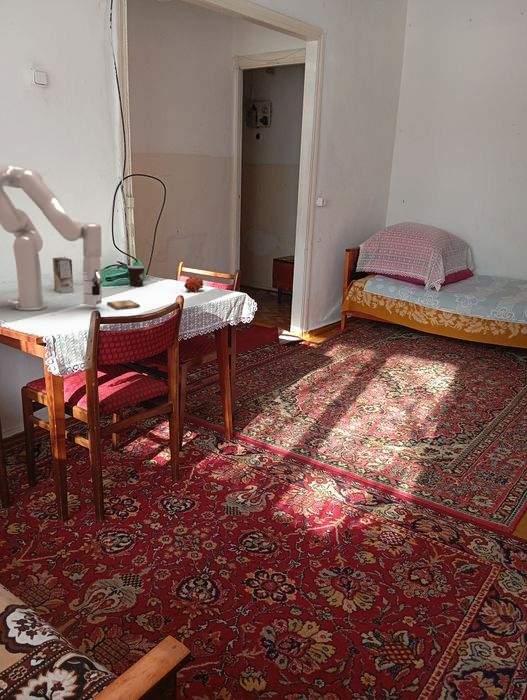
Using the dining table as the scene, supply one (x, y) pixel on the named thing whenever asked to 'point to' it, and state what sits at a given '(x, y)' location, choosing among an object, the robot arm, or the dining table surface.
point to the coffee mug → (135, 275)
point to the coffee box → (63, 274)
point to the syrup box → (90, 292)
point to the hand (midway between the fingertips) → (92, 292)
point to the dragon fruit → (193, 284)
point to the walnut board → (123, 304)
